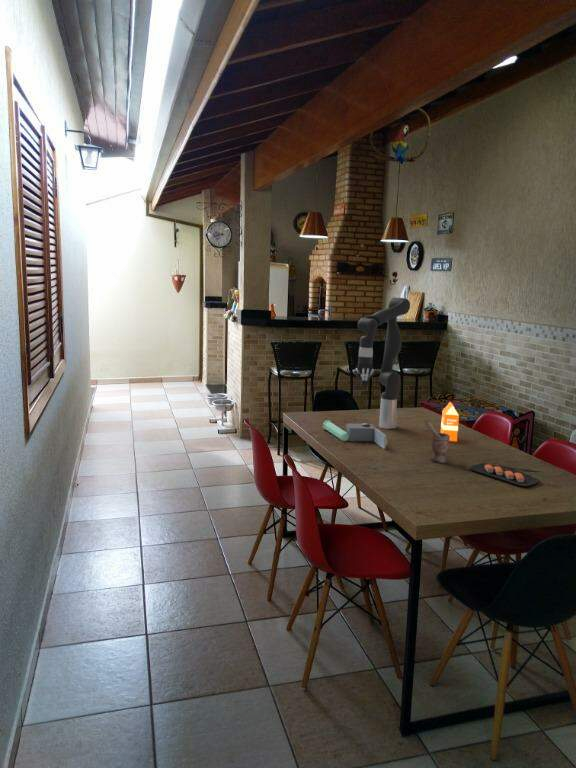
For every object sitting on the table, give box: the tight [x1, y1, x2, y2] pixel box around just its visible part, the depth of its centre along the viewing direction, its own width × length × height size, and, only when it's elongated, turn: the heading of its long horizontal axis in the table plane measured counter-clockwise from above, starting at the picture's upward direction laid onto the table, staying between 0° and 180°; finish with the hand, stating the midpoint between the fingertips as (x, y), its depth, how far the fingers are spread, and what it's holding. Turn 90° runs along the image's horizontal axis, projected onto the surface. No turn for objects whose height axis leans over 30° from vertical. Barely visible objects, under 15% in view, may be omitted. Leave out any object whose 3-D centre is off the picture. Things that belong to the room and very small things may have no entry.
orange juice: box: [439, 401, 460, 442], centre depth 314 cm, size 8×9×20 cm
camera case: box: [345, 422, 376, 442], centre depth 309 cm, size 14×10×8 cm
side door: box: [373, 427, 388, 450], centre depth 297 cm, size 14×2×7 cm, turn 12°
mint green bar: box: [322, 420, 349, 442], centre depth 314 cm, size 6×6×25 cm
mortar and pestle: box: [424, 418, 450, 464], centre depth 274 cm, size 12×9×20 cm
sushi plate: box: [468, 462, 542, 487], centre depth 261 cm, size 29×30×4 cm
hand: (363, 387), depth 312 cm, fingers closed
